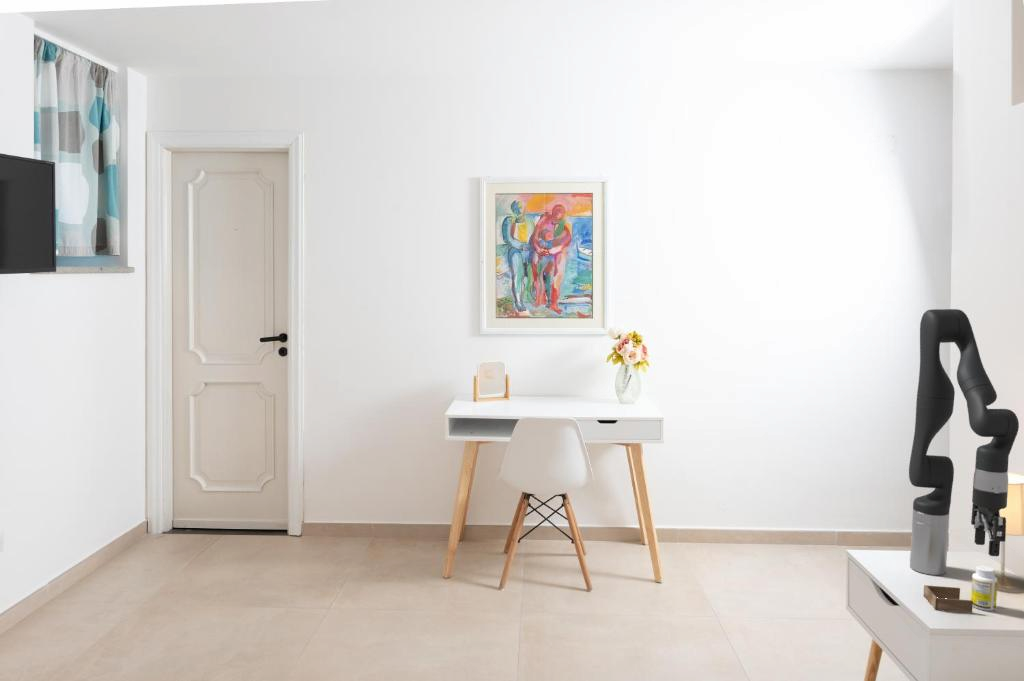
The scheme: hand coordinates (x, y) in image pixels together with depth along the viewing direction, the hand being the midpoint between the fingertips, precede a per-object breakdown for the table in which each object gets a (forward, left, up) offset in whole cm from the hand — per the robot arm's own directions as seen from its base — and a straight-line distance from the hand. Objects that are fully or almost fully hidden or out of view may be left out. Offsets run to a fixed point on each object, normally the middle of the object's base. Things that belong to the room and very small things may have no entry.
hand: (986, 549), depth 200 cm
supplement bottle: (0, 0, -15) cm, 15 cm away
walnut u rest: (0, -8, -15) cm, 17 cm away
